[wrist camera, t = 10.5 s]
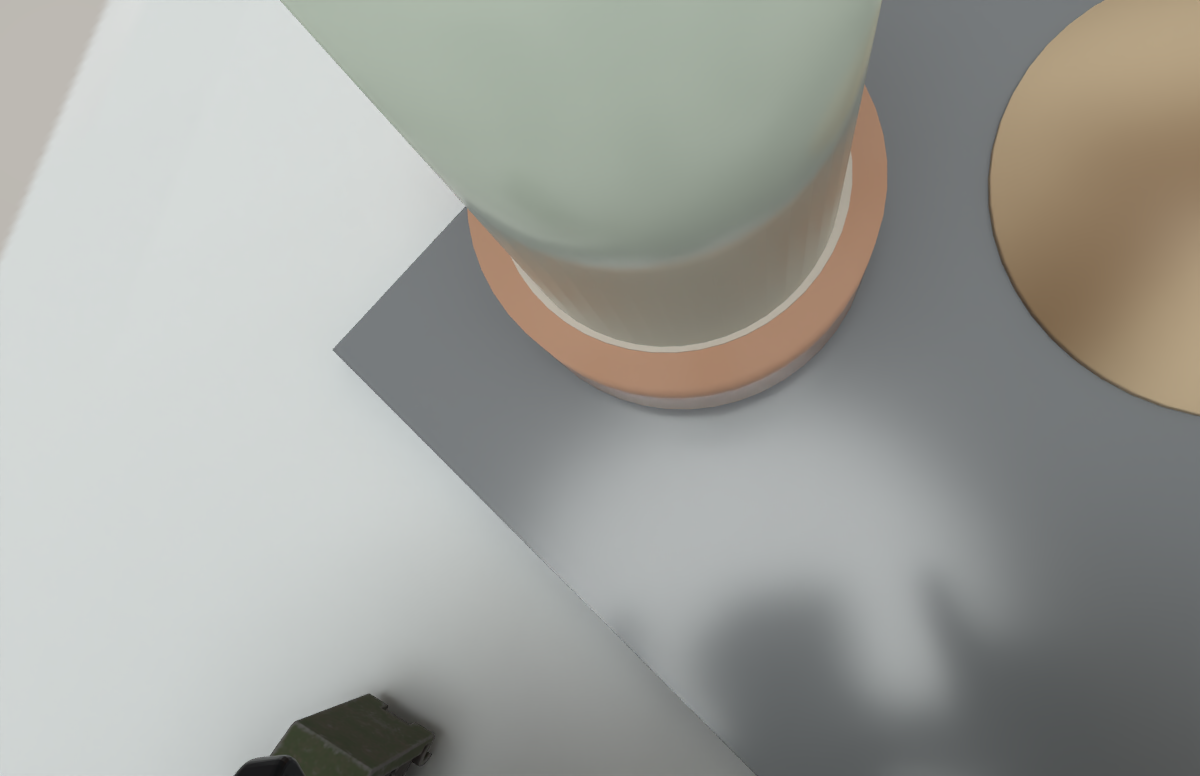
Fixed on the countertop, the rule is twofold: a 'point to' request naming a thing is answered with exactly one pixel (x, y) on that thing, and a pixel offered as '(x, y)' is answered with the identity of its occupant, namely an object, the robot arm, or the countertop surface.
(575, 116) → the cloche
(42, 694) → the countertop surface
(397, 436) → the countertop surface
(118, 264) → the countertop surface
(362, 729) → the green toy tank
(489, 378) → the slate board
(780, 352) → the ramekin
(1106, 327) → the cork mat
